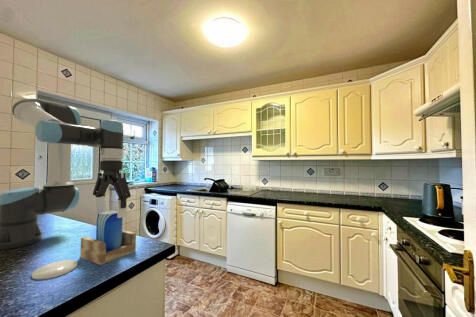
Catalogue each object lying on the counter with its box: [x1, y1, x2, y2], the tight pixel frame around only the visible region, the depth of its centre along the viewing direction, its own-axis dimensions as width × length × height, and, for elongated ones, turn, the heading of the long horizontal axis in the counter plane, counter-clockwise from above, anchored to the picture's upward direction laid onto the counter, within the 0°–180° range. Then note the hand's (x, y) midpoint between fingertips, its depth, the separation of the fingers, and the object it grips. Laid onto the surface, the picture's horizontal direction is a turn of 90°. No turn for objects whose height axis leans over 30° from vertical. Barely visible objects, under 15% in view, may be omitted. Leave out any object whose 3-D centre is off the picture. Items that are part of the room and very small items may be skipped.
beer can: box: [95, 209, 124, 252], centre depth 77 cm, size 8×8×16 cm
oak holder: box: [80, 229, 137, 266], centre depth 77 cm, size 13×13×7 cm
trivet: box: [31, 259, 79, 281], centre depth 65 cm, size 11×11×1 cm
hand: (110, 215), depth 77 cm, fingers open, 13 cm apart
